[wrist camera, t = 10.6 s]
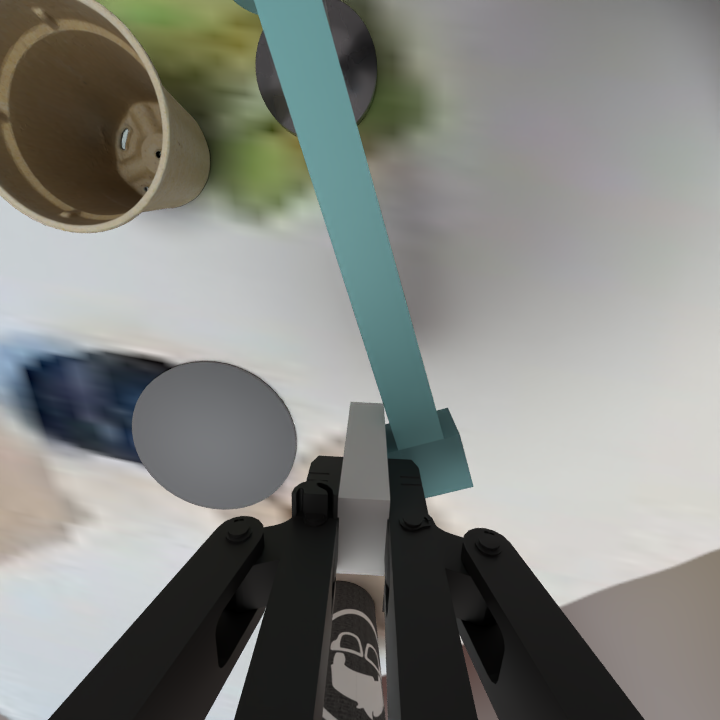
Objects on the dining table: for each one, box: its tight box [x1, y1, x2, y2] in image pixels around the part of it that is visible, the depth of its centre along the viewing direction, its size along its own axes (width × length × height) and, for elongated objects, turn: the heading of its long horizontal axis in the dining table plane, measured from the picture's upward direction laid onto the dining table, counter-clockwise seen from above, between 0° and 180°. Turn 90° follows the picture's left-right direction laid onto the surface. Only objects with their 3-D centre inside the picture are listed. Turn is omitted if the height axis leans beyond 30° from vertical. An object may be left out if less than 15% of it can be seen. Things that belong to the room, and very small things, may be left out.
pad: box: [132, 361, 296, 509], centre depth 30 cm, size 13×13×1 cm
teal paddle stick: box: [234, 0, 473, 498], centre depth 13 cm, size 22×4×3 cm, turn 17°
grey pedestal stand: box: [256, 0, 377, 137], centre depth 18 cm, size 7×7×11 cm
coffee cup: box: [322, 581, 385, 720], centre depth 28 cm, size 10×10×15 cm
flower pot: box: [0, 0, 210, 233], centre depth 20 cm, size 9×9×9 cm
